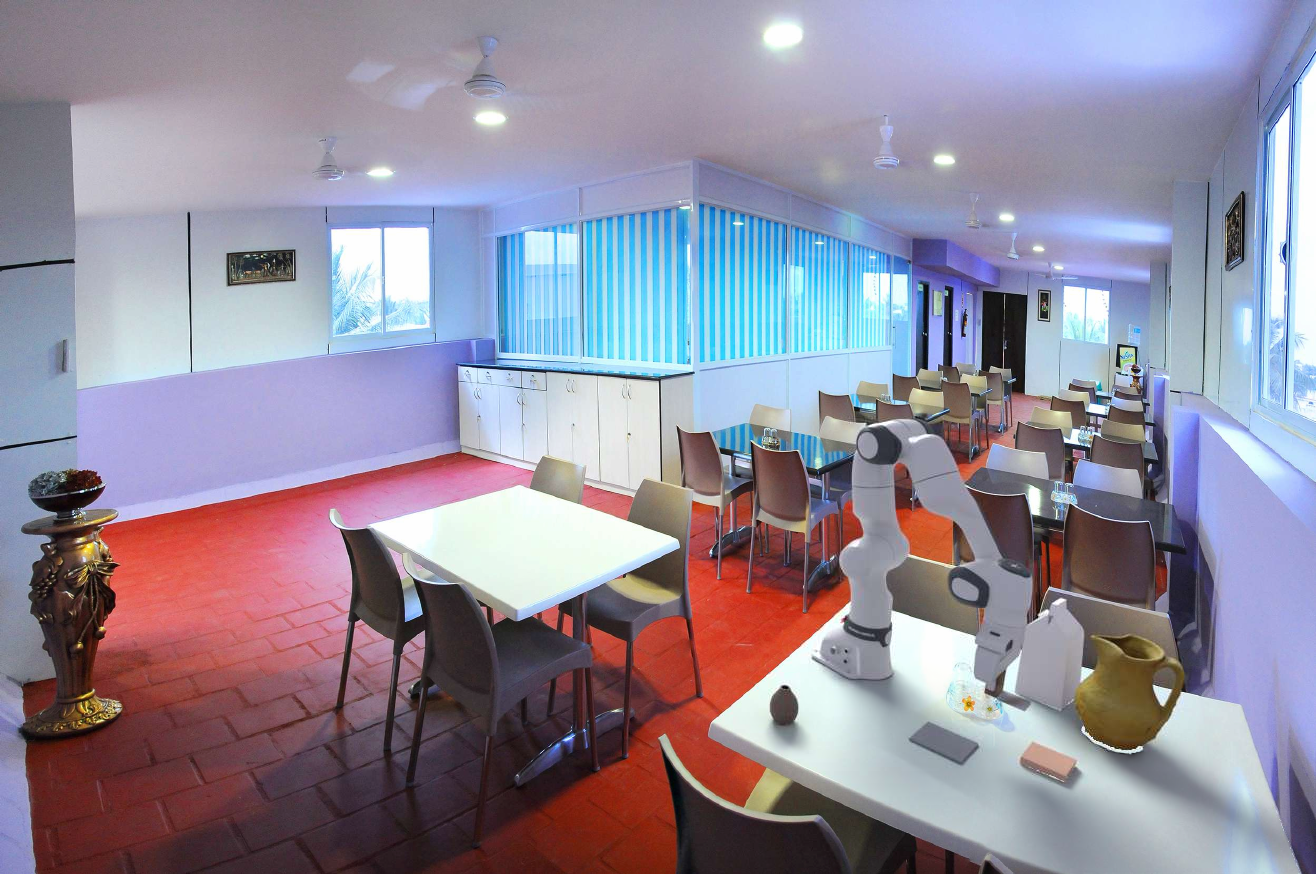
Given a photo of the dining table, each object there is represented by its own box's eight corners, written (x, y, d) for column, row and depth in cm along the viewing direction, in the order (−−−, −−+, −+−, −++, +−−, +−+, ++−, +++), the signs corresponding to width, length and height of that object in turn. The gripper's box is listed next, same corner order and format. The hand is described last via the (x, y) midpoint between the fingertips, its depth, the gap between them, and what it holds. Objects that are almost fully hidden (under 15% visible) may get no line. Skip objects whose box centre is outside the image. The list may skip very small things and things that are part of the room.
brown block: (983, 694, 160) (987, 670, 159) (989, 687, 163) (993, 664, 162) (1024, 711, 154) (1029, 687, 153) (1030, 704, 157) (1034, 680, 155)
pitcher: (1097, 709, 175) (1114, 619, 169) (1177, 754, 159) (1199, 657, 153) (1053, 726, 168) (1069, 633, 162) (1131, 776, 152) (1152, 675, 146)
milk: (1061, 711, 175) (1074, 615, 170) (1014, 691, 183) (1025, 599, 179) (1079, 695, 182) (1092, 603, 178) (1034, 677, 191) (1045, 589, 186)
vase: (783, 732, 163) (785, 698, 162) (763, 718, 169) (764, 685, 167) (803, 722, 167) (805, 689, 166) (782, 709, 173) (784, 677, 171)
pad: (909, 740, 161) (909, 738, 161) (927, 723, 168) (927, 721, 168) (961, 764, 153) (961, 762, 153) (978, 745, 160) (978, 743, 160)
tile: (1020, 756, 153) (1065, 776, 147) (1032, 741, 159) (1076, 759, 153) (1019, 764, 154) (1064, 784, 147) (1031, 749, 159) (1075, 768, 153)
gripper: (1004, 612, 167) (996, 664, 169) (972, 639, 152) (963, 695, 155) (1033, 622, 162) (1023, 675, 165) (1002, 650, 148) (992, 708, 151)
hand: (994, 685), depth 160 cm, fingers closed on brown block, 3 cm apart
